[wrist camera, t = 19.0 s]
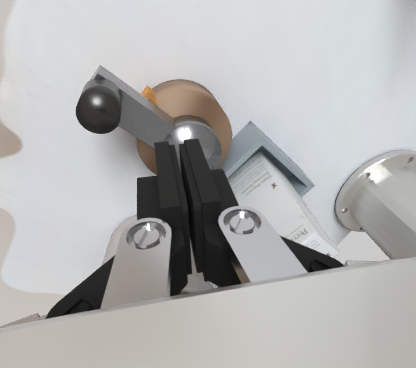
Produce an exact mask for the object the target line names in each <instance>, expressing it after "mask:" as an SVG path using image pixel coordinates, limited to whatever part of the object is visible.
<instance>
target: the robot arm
mask: <svg viewBox="0 0 416 368" xmlns="http://www.w3.org/2000/svg"><path fill="white" fill-rule="evenodd" d="M154 146H155V156H156V167H157V176H150V177H141V178H137V221H134V222H133V223H131V224H129V225H128V226H127V227H126V228H125V229H124V230H123V232H122V234H121V236H120V240H119V244H118V247H117V251H116V254H115V255H114V256H113V257H112V258H111V259H109V260H108V261H107V262H106V263H105V264H103V265H102V266H101V267H100V268H99V269H97V270H96V271H95V272H94V273H93V274H91V275H90V276H89V277H88V278H87V279H85V280H84V281H83V282H82V283H81V284H79V285H78V286H77V287H76V288H75V289H73V290H72V291H71V292H70V293H68V294H67V295H66V296H65V297H64V298H63V299H61V300H60V301H59V302H58V303H57V304H56V305H55V306H54V307H53V308H52V309H51V310H50V311H49V313H48V314H47V315H44V316H41V317H40V316H39V314H38V313H37V314H34V315H31V316H28V317H26V318H23V319H20V320H17V321H15V322H12V323H9V324H6V325H3V326H1V327H0V368H416V153H415V152H412V151H407V150H398V151H392V152H388V153H385V154H382V155H380V156H378V157H376V158H374V159H372V160H370V161H369V162H367V163H365V164H364V165H363V166H362V167H360V168H359V169H358V170H357V171H356V172H355V173H353V174H352V175H351V176H350V178H349V179H348V180H347V181H346V183H345V184H344V185H343V187H342V189H341V191H340V192H339V195H338V198H337V200H336V206H335V208H336V215H337V217H338V219H339V220H340V222H341V223H342V224H343V225H344V226H345V227H346V228H348V229H350V230H353V231H358V232H359V231H360V232H361V231H362V232H364V231H365V232H366V233H367V234H368V235H369V236H370V237H371V238H372V240H374V242H375V243H376V244H377V245H378V246H379V247H380V248H381V250H383V252H384V253H385V254H386V255H387V256H388V257H389V258H390V259H391V260H386V261H379V262H376V261H374V262H373V261H346V263H345V264H342V263H340V262H339V261H337V260H336V259H334V258H332V257H330V256H328V255H325V254H323V253H321V252H318V251H316V250H313V249H311V248H309V247H306V246H304V245H302V244H299V243H297V242H294V241H292V240H290V239H287V238H285V237H282V236H280V235H278V233H277V232H276V231H275V229H274V228H273V227H272V226H271V224H270V223H269V222H268V220H267V219H266V218H265V216H264V215H263V214H262V213H261V212H260V211H258V210H256V209H254V208H251V207H247V206H239V204H238V202H237V200H236V197H235V195H234V193H233V191H232V188H231V186H230V184H229V181H228V179H227V177H226V175H225V172H224V170H223V169H222V168H221V169H212V170H210V169H209V166H208V163H207V161H206V158H205V155H204V153H203V150H202V147H201V145H200V142H199V139H198V138H197V139H186V140H184V144H179V155H180V167H179V163H178V158H177V154H176V149H175V145H169V142H168V141H166V142H155V143H154ZM180 169H181V172H180ZM190 241H191V246H192V251H193V256H194V261H195V267H196V271H197V273H202V272H203V277H204V281H205V282H207V281H210V282H212V283H214V284H215V285H217V286H218V288H216V289H210V290H204V291H198V292H193V293H187V294H181V295H178V294H179V293H180V292H181V291H182V290H183V289H184V288H185V286H186V285H187V284H188V276H187V275H190V274H192V262H191V247H190Z"/></svg>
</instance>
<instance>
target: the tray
mask: <svg viewBox="0 0 416 368" xmlns="http://www.w3.org/2000/svg"><path fill="white" fill-rule="evenodd" d="M259 152H263V153H264V154H265V155H266V156H267V157H268V158H269V159H270V160H271V161H272V162H273V163H274V164H275V165H276V166H277V167H278V168H279V169H280V170H281V171H282V172H283V174H284V175H285V177H286V178H287V179H288V181H289V182H290V184H291V185H292V186H293V188H294V189H295V190H296V192H297V193H298V195H299V196H300V197H302V196H303V195H305V194H306V193H307V192H308V191H309V190H311V189H312V188H313V187H314V186H315V185H314V184H313V183H312V182H311V181H310V179H309V178H308V177H307V176H306V175H305V174H304V172H303V171H302V170H301V169H300V168H299V167H298V166H297V165H296V164H295V163H294V162H293V161H292V160H291V159H290V158H289V157H288V156H287V155H285V154H284V153H283V152H282V151H281V150H280V149H279V148H278V147H277V146H276V145H275V144H274V143H273V142H272V141H271V140H270V139H269V138H268V137H267V136H266V135H265V134H263V133H262V132H261V131H260V130H259V129H258V128H257V127H256V126H255V125H254V124H253V123H252V122H251V121H250V122H249V123H248V124H247V125H246V126H245V127H244V128H243V129H242V130H241V131H240V132H239V133H238V134H237V135H236V136H235V137H234V138H233V139H232V141H231V146H230V149H229V152H228V154H227V156H226V157H225V159H224V160H223V162H222V163H221V164H220V165H219V166H218V167H217V168H216V169H221V168H222V169H223V170H224V172H225V175H226V177H227V179H228V178H229V177H230V176H231V175H232V174H233V173H234V172H235V171H237V170H238V169H239V168H240V167H241V166H242V165H243V164H245V163H246V162H247V161H248V160H249V159H251V158H252V157H253V156H254V155H256V154H257V153H259Z"/></svg>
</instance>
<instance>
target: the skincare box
mask: <svg viewBox="0 0 416 368" xmlns="http://www.w3.org/2000/svg"><path fill="white" fill-rule="evenodd" d="M228 181H229V184H230V186H231V188H232V191H233V193H234V195H235V197H236V200H237V202H238V204H239V206H247V207H251V208H254V209H256V210H258V211H260V212H261V213H262V214H263V215H264V216H265V218H266V219H267V220H268V222H269V223H270V224H271V226H272V227H273V228H274V229H275V231H276V232H277V233H278V235H280V236H282V237H285V238H287V239H290V240H292V241H294V242H297V243H299V244H302V245H304V246H306V247H309V248H311V249H313V250H316V251H318V252H321V253H323V254H325V255H328V256H330V257H332V258H334V257H335V256H337V255H338V254H339V250H338V249H337V247H336V246H335V245H334V244H333V242H332V241H331V240H330V238H329V237H328V235H327V234H326V232H325V231H324V229H323V228H322V226H321V225H320V224H319V222H318V221H317V219H316V218H315V217H314V215H313V214H312V212H311V211H310V210H309V208H308V207H307V206H306V204H305V203H304V201H303V200H302V199H301V197H300V196H299V195H298V193H297V192H296V190H295V189H294V188H293V186H292V185H291V184H290V182H289V181H288V179H287V178H286V177H285V175H284V174H283V172H282V171H281V170H280V169H279V168H278V167H277V166H276V165H275V164H274V163H273V162H272V161H271V160H270V159H269V158H268V157H267V156H266V155H265V154H264V153H263V152H259V153H257V154H256V155H254V156H253V157H252V158H251V159H249V160H248V161H247V162H246V163H245V164H243V165H242V166H241V167H240V168H239V169H238V170H237V171H235V172H234V173H233V174H232V175H231V176H230V177H229V178H228Z"/></svg>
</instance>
